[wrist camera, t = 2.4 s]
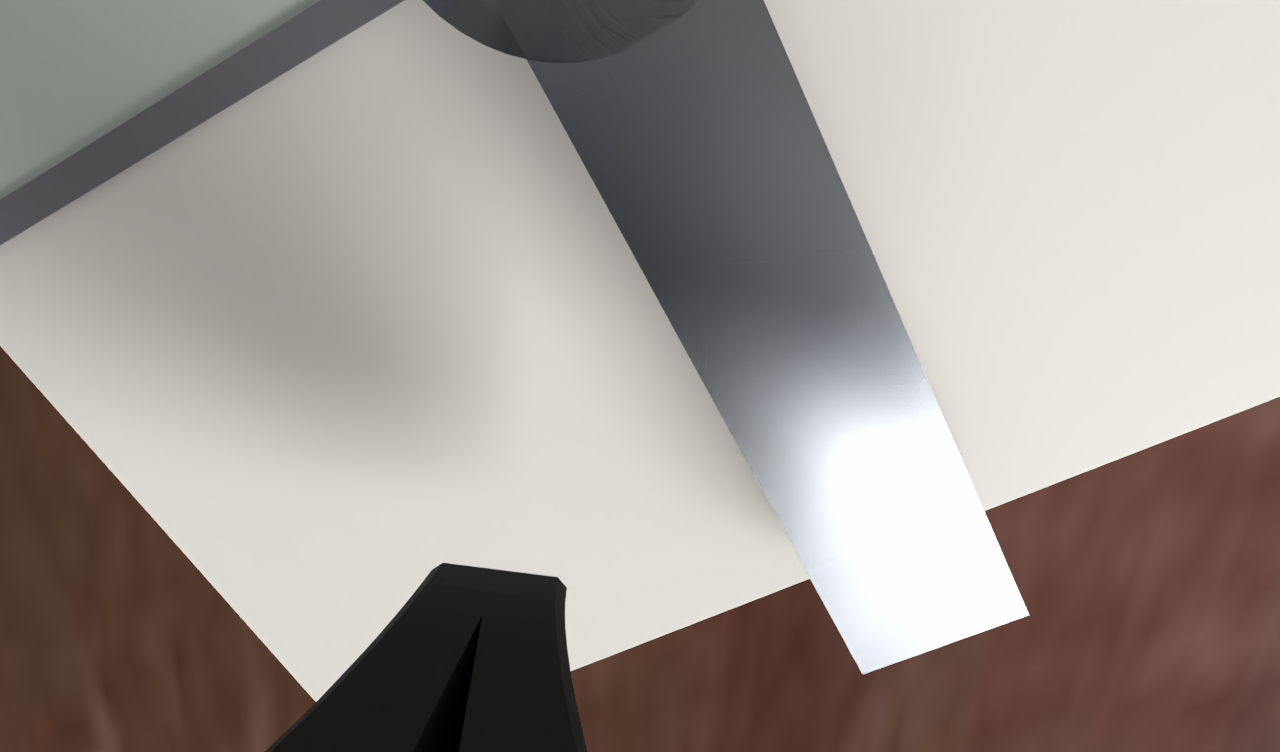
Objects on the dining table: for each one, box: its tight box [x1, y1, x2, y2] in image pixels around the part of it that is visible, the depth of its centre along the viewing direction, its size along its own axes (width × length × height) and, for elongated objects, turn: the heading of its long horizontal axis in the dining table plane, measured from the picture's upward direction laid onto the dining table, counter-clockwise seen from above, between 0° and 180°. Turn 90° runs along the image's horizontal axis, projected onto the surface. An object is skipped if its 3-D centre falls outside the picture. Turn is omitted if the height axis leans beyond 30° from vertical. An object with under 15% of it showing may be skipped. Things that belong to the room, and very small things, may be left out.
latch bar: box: [423, 0, 1029, 674], centre depth 9 cm, size 11×3×1 cm, turn 28°
